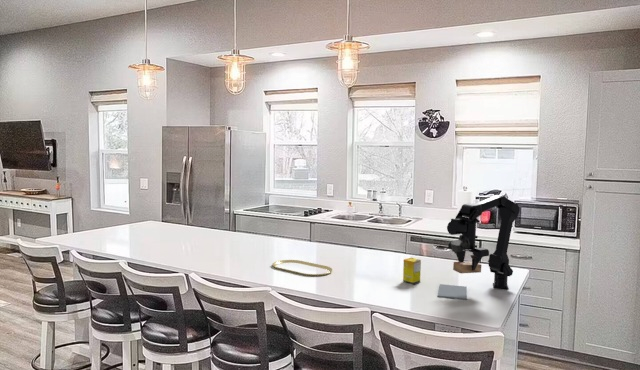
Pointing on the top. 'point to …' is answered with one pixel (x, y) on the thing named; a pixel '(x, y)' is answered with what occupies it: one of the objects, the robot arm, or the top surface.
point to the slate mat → (452, 291)
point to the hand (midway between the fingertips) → (467, 268)
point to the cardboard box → (466, 267)
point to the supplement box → (411, 270)
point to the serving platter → (304, 264)
